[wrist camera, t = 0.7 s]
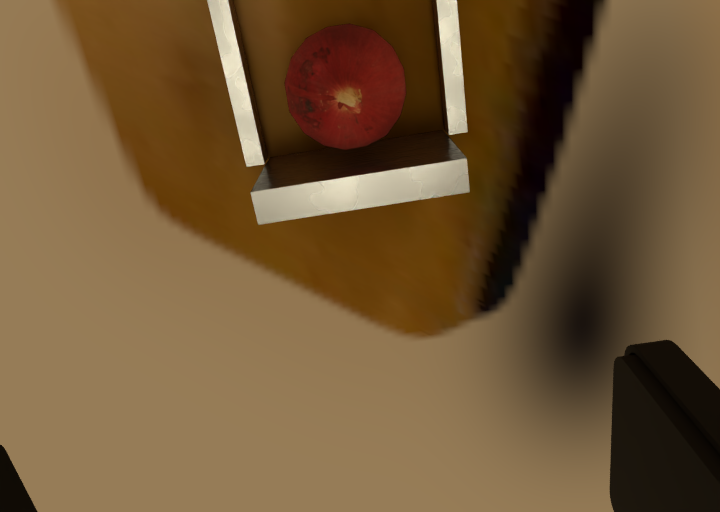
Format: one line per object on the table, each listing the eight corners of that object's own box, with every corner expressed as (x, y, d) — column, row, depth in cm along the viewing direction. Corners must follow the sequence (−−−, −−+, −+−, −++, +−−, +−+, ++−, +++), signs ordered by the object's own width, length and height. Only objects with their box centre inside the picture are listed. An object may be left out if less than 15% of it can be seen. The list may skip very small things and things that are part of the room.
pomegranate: (302, 140, 33) (289, 177, 25) (283, 32, 30) (262, 38, 23) (404, 125, 32) (421, 158, 25) (392, 16, 30) (406, 16, 23)
